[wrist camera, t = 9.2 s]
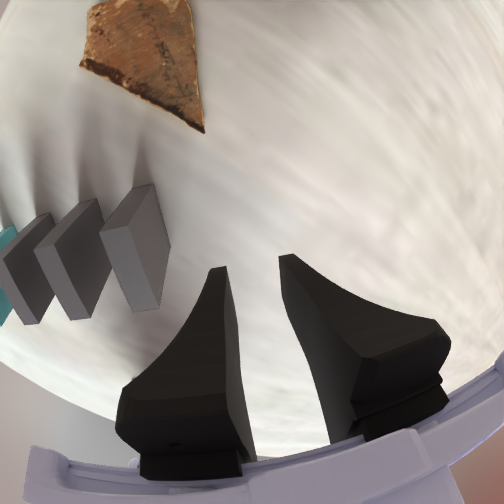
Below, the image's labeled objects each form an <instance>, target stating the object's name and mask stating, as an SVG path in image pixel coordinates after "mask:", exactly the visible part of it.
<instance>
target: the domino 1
mask: <svg viewBox="0 0 504 504" xmlns="http://www.w3.org/2000/svg"><path fill="white" fill-rule="evenodd" d="M16 235H18V234H17V231H16V229H15V226H14V225H13V226H10V227H8V228H5V229H3V230H2V231H1V232H0V251H1V250H2V249H3V248H4V247H5V246H6V245H7V244H8V243H9V242H10V241H11V240H12V239H13V238H14V237H15V236H16ZM12 309H13V307H12V305H11V303H10V302H9V300H8V298H7V296H6V295H5V293H4V291H3V289H2V287H1V286H0V327H2V325H3V323H4V321H5V320H6V318H7V317H8V315H9V313H10V312H11V310H12Z"/></svg>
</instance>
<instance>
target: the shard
mask: <svg viewBox="0 0 504 504" xmlns="http://www.w3.org/2000/svg"><path fill="white" fill-rule="evenodd" d="M79 66H80V67H81V68H82V69H86V70H88V71H91V72H93V73H95V74H96V75H98V76H100V77H102V78H104V79H106V80H108V81H111V82H112V83H114V84H116V85H118V86H120V87H122V88H124V89H126V90H127V91H129V92H130V93H132V94H134V95H135V96H136V97H140V98H141V99H142V100H145V101H146V102H148V103H150V104H152V105H154V106H155V107H157V108H160V109H162V110H164V111H166V112H170V113H172V114H173V115H175V116H177V117H179V118H180V119H181V120H183V121H185V122H186V123H187V124H188V125H189V126H190V127H192V128H194V129H195V130H197V131H198V132H201V133H203V134H205V129H204V120H203V113H202V105H201V102H200V98H199V92H198V84H197V75H196V69H197V60H196V52H195V35H194V30H193V20H192V13H191V7H190V6H189V4H188V2H187V0H112V1H109V2H104V3H100V4H97V5H95V6H93V7H92V8H91V9H89V10H88V12H87V41H86V44H85V51H84V57H83V59H82V60H81V62H80V64H79Z"/></svg>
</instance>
